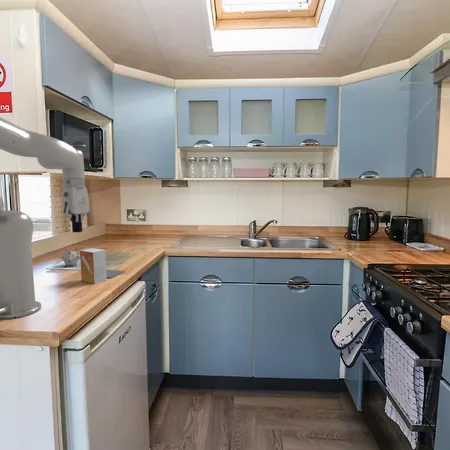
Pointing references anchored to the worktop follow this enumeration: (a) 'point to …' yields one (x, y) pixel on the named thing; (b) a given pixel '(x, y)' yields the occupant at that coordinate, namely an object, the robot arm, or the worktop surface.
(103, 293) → the worktop surface
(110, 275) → the rubber mat
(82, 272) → the small box
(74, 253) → the game die
